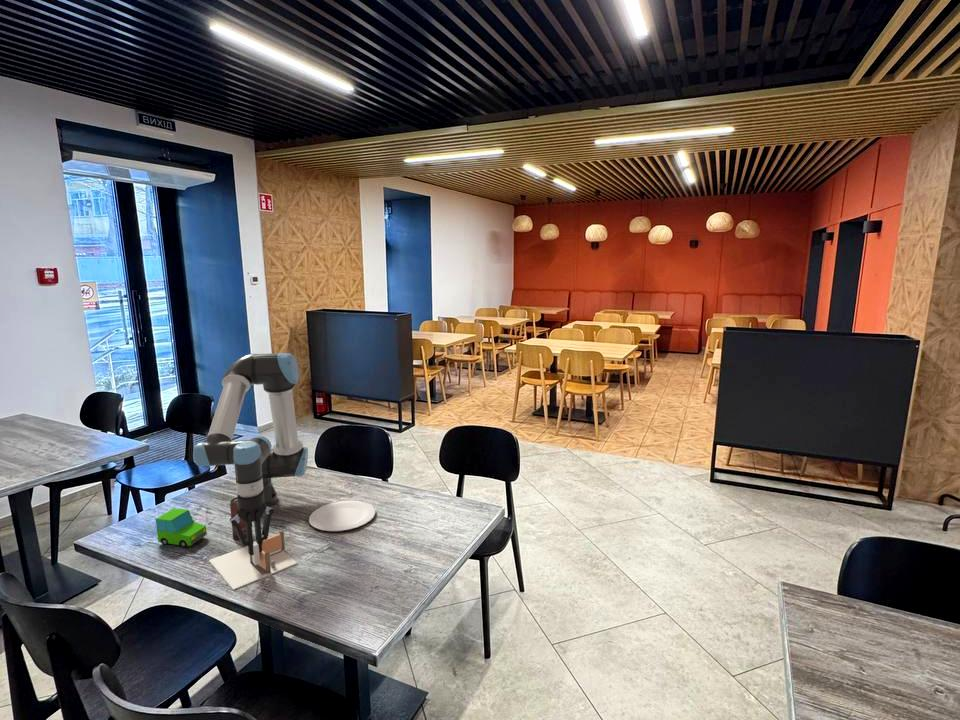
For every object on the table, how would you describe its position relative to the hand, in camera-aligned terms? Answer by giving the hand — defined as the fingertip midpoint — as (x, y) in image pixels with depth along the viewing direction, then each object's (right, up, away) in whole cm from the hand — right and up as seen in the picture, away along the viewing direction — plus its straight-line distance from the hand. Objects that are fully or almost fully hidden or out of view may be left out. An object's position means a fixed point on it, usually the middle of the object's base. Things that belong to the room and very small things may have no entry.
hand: (256, 562), depth 162 cm
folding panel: (+1, -2, +2) cm, 3 cm away
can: (-15, 0, +23) cm, 27 cm away
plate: (+17, +2, +37) cm, 41 cm away
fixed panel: (0, -1, +10) cm, 10 cm away
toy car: (-34, 0, +20) cm, 39 cm away
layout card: (-4, -2, +6) cm, 8 cm away
